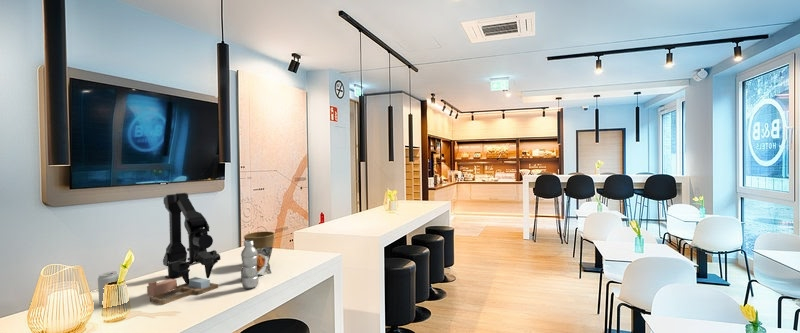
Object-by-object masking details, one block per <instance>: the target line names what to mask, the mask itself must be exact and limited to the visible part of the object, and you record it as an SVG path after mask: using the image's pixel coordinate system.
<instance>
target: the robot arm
mask: <svg viewBox="0 0 800 333" xmlns="http://www.w3.org/2000/svg"><path fill="white" fill-rule="evenodd" d="M163 204H164V207H165V209H166V210H167V212H168V217H169V218H168V219H169V244H168V246H167V247H166V248H165V253H164V256H163V259H162V264H163V265H164V266H165V267H167V274H168V275H165V276H164V278H167V279H177V278H180V277H181V278H182V279H183V281H184V284H185V283H186V284H187V285H189V279H190V274H189V273H190V271H191V269H190V266H194V265H199V264H200V265H201V266H204V269H205V270H204V271H205V277H206V279H210V277H211V272H212V270H213V268H214V266H215V265H216V264H218V262H219V261H221V260H222V258H221V254H219V253H218V252H217V250H215V249H213V250H210V251H207V249H208V248H210V247H211V246H212V245H213V243H214V239H213V237H212V236H211V235H210V234H208V232H210V225H209V224H208V221H207V219H206V217H205V216H204V215H203V214H202V213H201V212H198V211H197V210H196V209H195V207H194V206H193V204H192V202H191V200H190V198H189V193H187V192H178V193H174V194H173V193H172V194H166V196H165V197H163ZM181 213H182V214H181ZM181 215H183V217H184V221H183V222H184V223H183V224H184V228H185V230H186V232H187V236H188V237H187V238H188V247H187V248H186V247H185V245H184V244H183V243H182V216H181ZM188 255H189V256H188Z"/></svg>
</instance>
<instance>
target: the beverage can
mask: <svg viewBox="0 0 800 333" xmlns="http://www.w3.org/2000/svg"><path fill="white" fill-rule="evenodd" d="M118 279H119V274H118V272H117V271H108V272H103V273H100V274H99V275H98V278H97V286H98V287H97V288H98V289H97V290H98V305H100V306H102V301H103V293H104V289H103V288H104V286H105V284H107V283H110V282H115V281H118Z"/></svg>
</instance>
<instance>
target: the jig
mask: <svg viewBox="0 0 800 333" xmlns="http://www.w3.org/2000/svg"><path fill="white" fill-rule="evenodd" d="M218 288H219V284H218V283H214V282H210V286H209V287H206V288H204V289H198V288H193V287H189V286H187V284H186V283H185V282H184V283H183V284H179V285H177V286H176V289H174V290H171V291H168V292H165V293H162V294H159V295H156V296H150V297H149V302H150V303H153V304H159V305H166V304H168V303H169V304H170V303H171V302H174V301H176V300H179V299H182V298H186V297H188V296H191V295H201V294H202V295H203V294H204V293H207V292H210V291H213V290H215V289H218ZM178 293H179V294H178ZM175 294H176V295H175ZM169 296H170V297H169Z"/></svg>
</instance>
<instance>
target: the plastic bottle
mask: <svg viewBox="0 0 800 333" xmlns="http://www.w3.org/2000/svg"><path fill="white" fill-rule="evenodd" d="M253 245H254V244H253V240H247V241H245V240H244V242H243V246H244V247H243V249H242V251H241V253H240V256H241V264H242V263H243V278H242V281H241V285H242V287H243V289H253V288H256V287H258V285H259V279H260V278H259V276H257V266H256V265H257V254H258V252H257V250H256V249H255V248H254V247H253Z"/></svg>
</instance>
